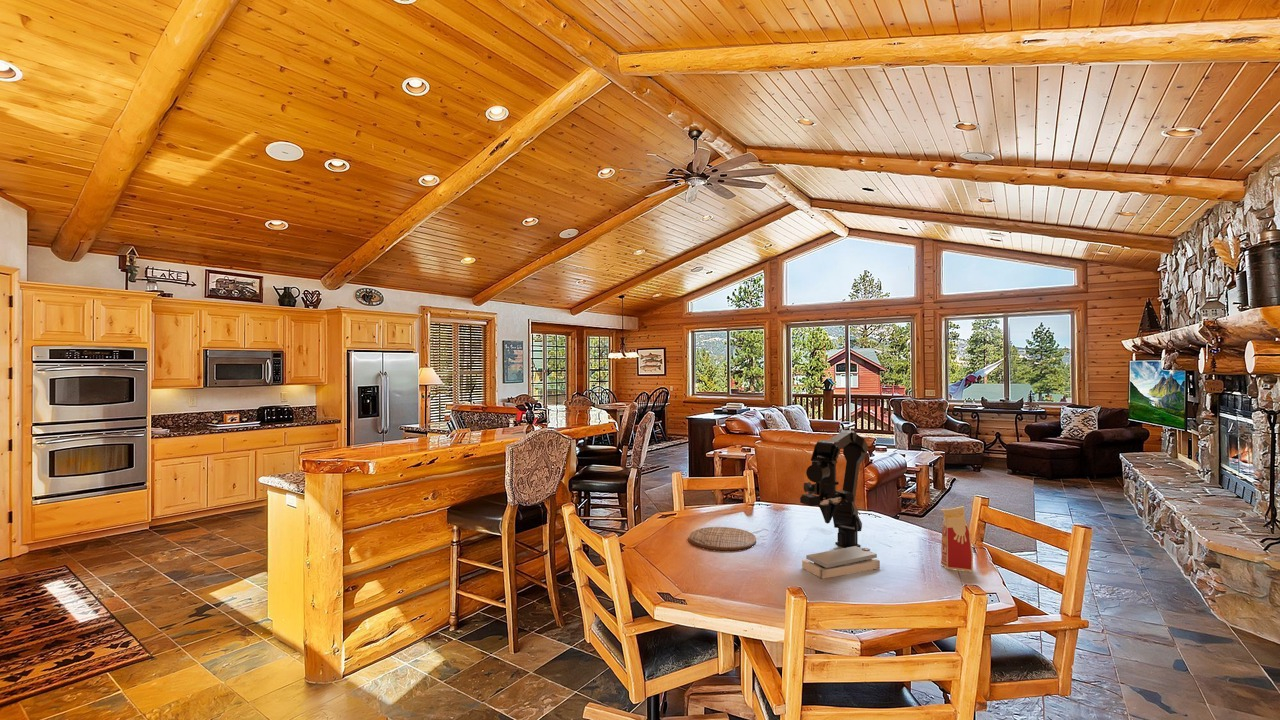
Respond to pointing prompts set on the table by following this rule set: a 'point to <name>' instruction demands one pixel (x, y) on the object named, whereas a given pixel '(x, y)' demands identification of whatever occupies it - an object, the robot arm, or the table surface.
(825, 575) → the long open tray
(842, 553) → the cover
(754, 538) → the trivet
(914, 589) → the table surface
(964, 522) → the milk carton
